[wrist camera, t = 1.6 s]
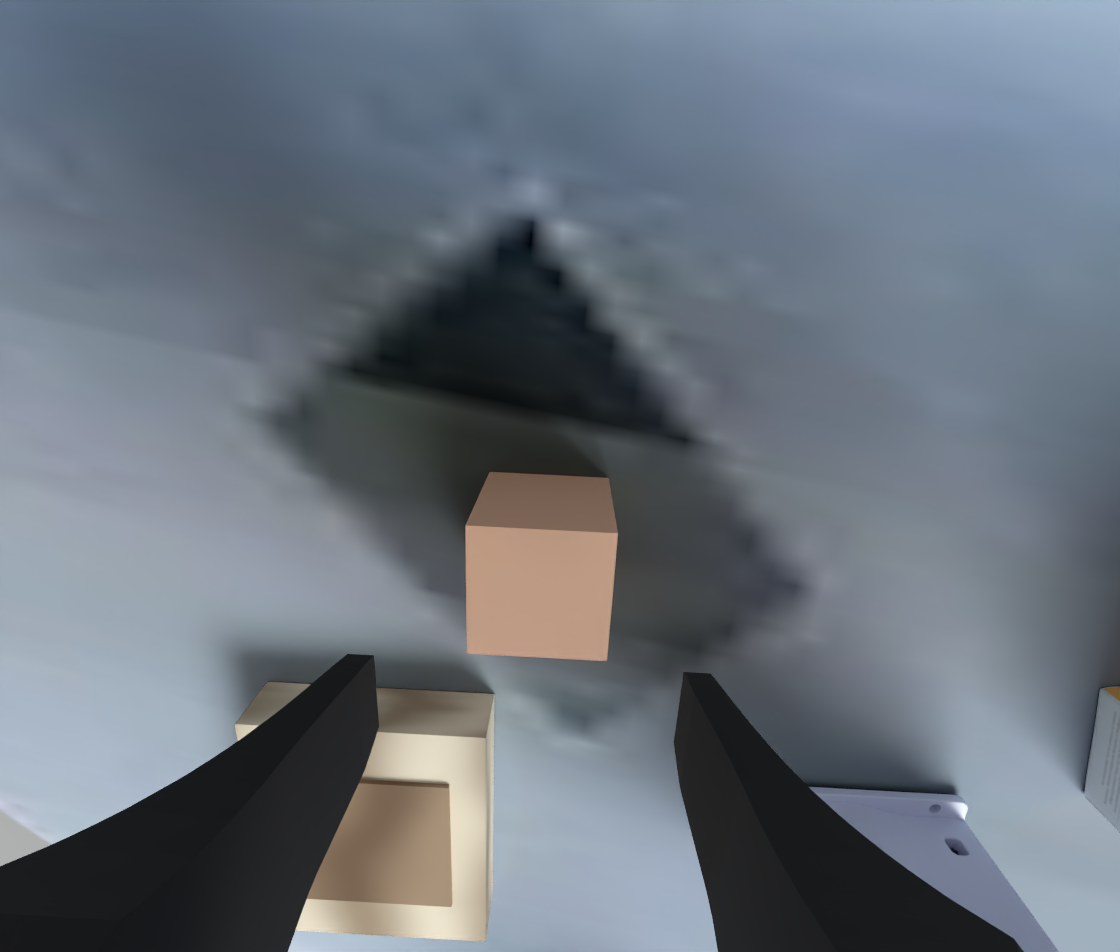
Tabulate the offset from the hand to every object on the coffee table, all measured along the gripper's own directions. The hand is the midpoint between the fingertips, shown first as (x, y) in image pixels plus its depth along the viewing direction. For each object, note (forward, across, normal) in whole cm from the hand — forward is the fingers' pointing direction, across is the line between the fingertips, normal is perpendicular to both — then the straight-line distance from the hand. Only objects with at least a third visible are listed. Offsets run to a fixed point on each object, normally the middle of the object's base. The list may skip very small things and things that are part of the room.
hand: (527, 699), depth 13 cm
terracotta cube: (+10, 0, 0) cm, 10 cm away
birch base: (+9, +7, +14) cm, 18 cm away
